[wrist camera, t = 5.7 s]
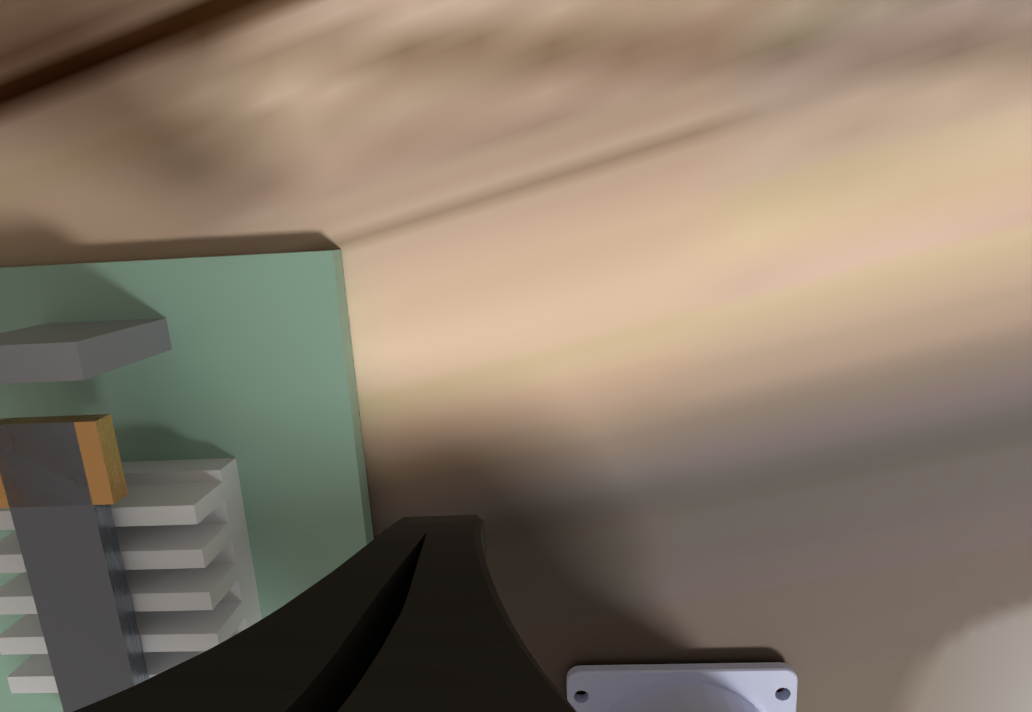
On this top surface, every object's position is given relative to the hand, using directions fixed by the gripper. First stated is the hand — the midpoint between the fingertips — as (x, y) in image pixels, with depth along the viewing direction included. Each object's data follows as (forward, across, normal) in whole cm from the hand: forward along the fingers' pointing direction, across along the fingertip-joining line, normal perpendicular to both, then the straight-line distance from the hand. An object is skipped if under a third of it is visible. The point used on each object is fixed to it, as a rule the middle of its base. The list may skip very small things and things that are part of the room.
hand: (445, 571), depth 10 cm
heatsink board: (+10, +12, +5) cm, 17 cm away
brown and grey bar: (+7, +12, +5) cm, 15 cm away
